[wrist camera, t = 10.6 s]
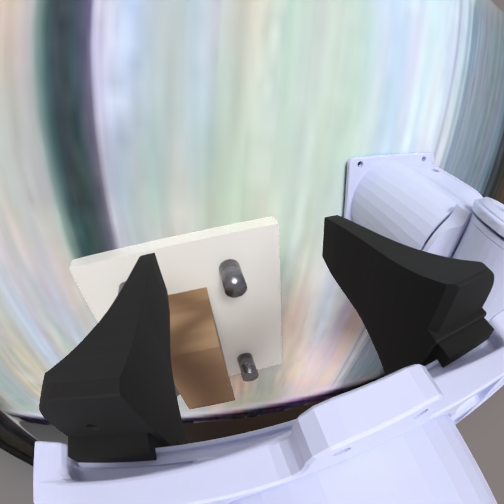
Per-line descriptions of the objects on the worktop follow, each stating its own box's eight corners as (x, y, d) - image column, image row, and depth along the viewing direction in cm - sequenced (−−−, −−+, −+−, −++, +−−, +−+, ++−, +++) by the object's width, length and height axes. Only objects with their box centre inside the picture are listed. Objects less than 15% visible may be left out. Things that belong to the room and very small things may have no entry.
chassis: (273, 215, 23) (290, 241, 20) (278, 355, 33) (289, 380, 30) (72, 259, 20) (61, 290, 18) (144, 383, 31) (145, 410, 28)
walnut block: (206, 286, 24) (219, 346, 19) (221, 347, 28) (234, 400, 23) (157, 297, 23) (159, 358, 18) (181, 355, 28) (189, 409, 23)
